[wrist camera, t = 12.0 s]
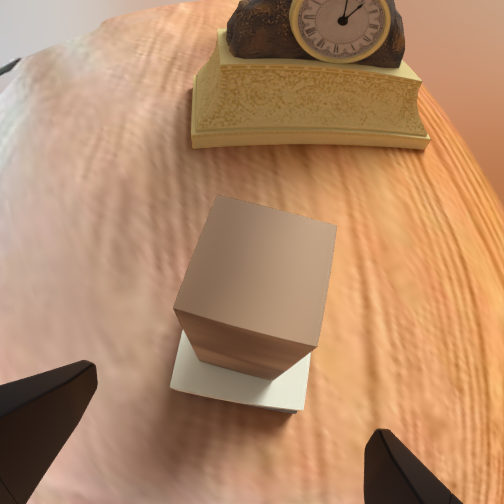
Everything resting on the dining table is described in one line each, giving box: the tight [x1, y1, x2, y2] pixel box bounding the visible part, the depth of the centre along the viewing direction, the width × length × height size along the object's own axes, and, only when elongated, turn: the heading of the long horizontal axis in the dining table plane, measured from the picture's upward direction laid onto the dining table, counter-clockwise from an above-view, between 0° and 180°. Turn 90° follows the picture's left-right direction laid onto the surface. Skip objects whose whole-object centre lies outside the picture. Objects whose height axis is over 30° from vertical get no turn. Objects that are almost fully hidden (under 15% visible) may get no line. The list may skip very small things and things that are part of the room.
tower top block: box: [170, 330, 311, 411], centre depth 20 cm, size 8×8×2 cm
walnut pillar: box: [173, 195, 337, 381], centre depth 15 cm, size 4×4×10 cm
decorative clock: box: [191, 0, 431, 150], centre depth 23 cm, size 28×13×30 cm, turn 97°
